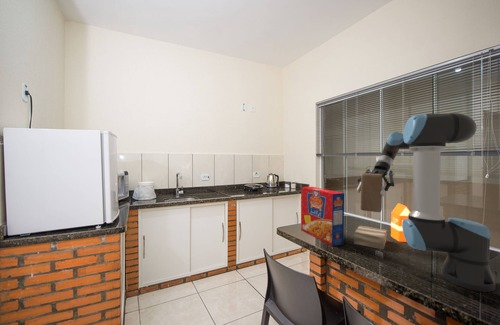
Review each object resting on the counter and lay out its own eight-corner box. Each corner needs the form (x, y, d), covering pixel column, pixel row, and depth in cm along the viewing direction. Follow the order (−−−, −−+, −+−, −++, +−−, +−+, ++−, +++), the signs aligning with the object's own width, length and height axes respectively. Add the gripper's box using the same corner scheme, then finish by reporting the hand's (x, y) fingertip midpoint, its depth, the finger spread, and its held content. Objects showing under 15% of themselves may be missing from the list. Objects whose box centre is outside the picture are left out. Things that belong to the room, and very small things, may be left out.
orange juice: (404, 236, 136) (405, 203, 135) (413, 242, 127) (414, 206, 127) (390, 236, 137) (391, 203, 136) (398, 241, 128) (399, 206, 127)
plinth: (383, 249, 116) (383, 238, 116) (353, 243, 125) (354, 232, 124) (386, 240, 130) (386, 229, 129) (359, 235, 138) (359, 225, 137)
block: (381, 212, 120) (382, 175, 119) (360, 210, 125) (361, 174, 124) (381, 209, 128) (382, 173, 127) (362, 207, 133) (362, 173, 133)
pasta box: (301, 230, 146) (301, 187, 146) (311, 228, 149) (311, 186, 149) (331, 246, 120) (332, 193, 120) (343, 244, 123) (344, 193, 123)
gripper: (409, 170, 124) (395, 201, 116) (364, 168, 145) (351, 194, 136) (405, 160, 121) (391, 191, 113) (360, 160, 141) (346, 186, 133)
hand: (369, 193), depth 125 cm, fingers closed on block, 12 cm apart
